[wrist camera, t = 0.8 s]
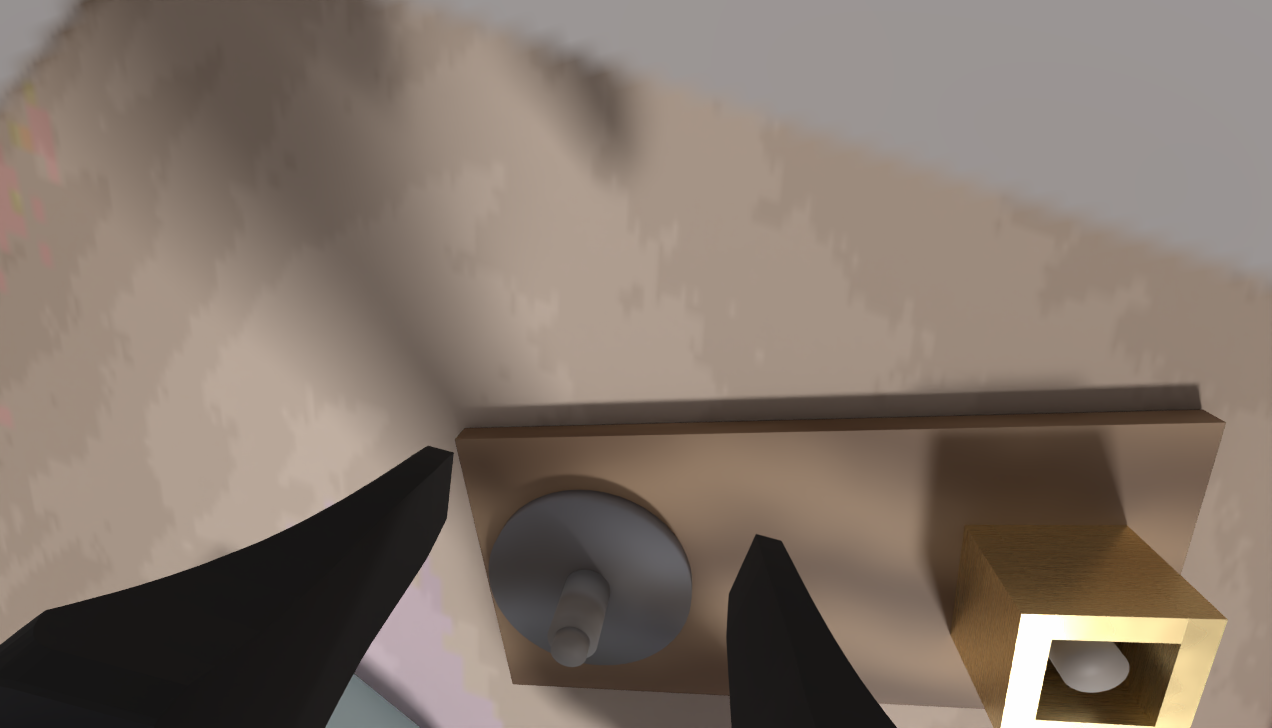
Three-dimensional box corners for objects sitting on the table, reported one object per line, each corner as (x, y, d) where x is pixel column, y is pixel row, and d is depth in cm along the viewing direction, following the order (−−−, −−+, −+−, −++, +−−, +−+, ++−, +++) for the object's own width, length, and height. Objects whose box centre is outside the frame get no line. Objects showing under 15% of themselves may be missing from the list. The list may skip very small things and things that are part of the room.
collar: (1098, 639, 23) (1182, 749, 19) (950, 635, 24) (998, 738, 20) (1127, 525, 21) (1227, 619, 17) (964, 524, 22) (1021, 614, 18)
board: (1122, 695, 25) (1218, 827, 20) (519, 667, 30) (480, 769, 25) (1203, 409, 20) (1354, 493, 15) (464, 428, 25) (403, 497, 20)
